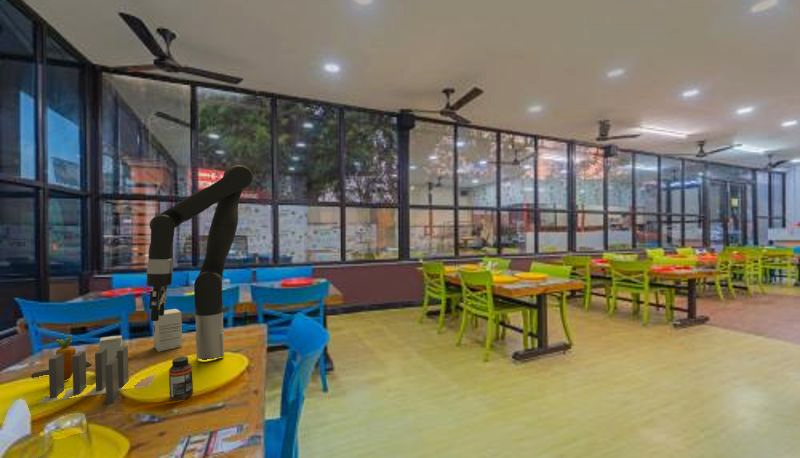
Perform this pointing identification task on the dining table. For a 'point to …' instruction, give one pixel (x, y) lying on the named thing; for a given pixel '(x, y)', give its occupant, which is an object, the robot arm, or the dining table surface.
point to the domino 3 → (112, 381)
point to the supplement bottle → (180, 379)
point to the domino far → (56, 375)
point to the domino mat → (69, 393)
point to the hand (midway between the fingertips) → (157, 318)
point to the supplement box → (168, 330)
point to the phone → (48, 371)
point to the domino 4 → (122, 366)
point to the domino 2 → (100, 369)
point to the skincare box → (111, 346)
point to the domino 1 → (79, 372)
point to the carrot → (66, 356)
